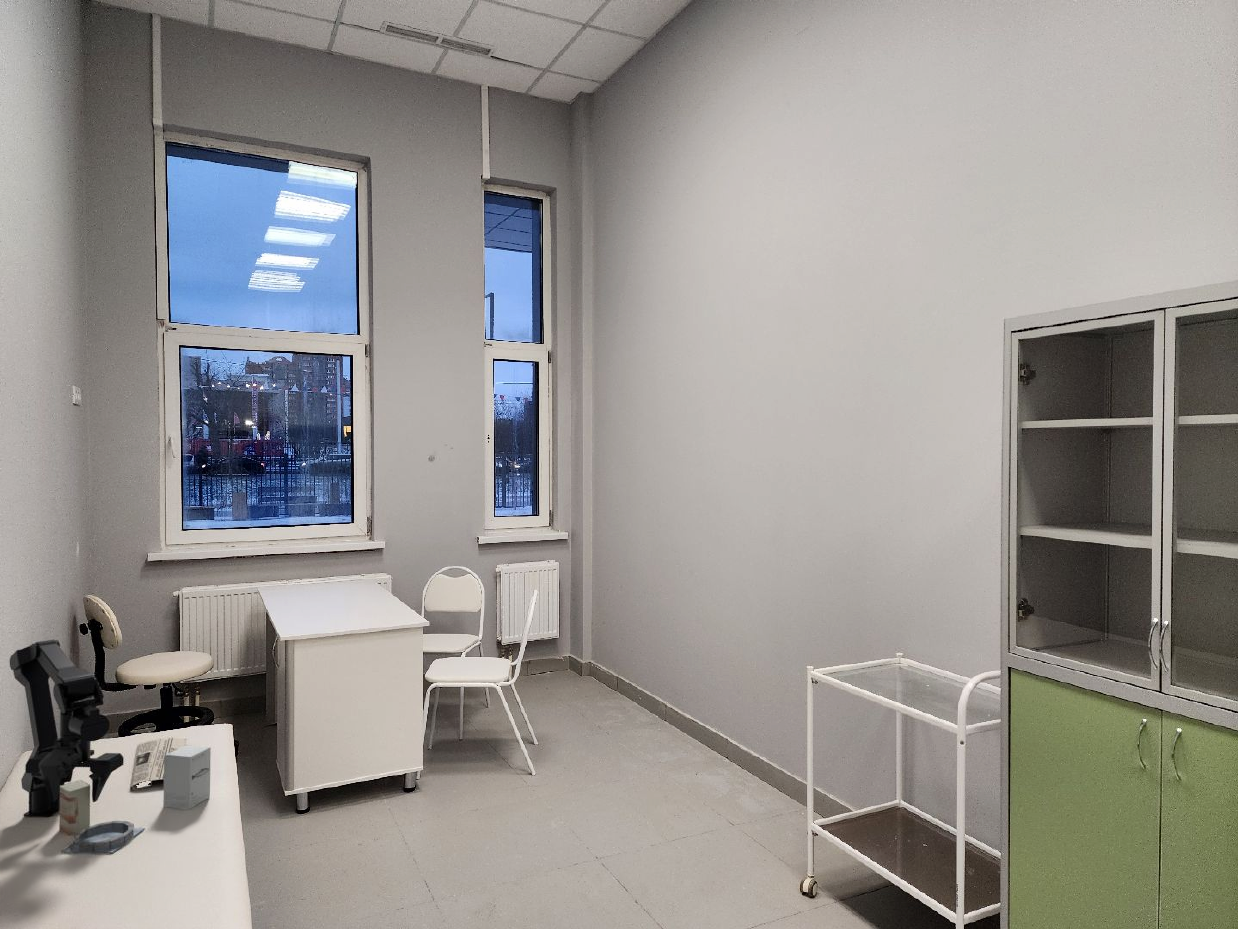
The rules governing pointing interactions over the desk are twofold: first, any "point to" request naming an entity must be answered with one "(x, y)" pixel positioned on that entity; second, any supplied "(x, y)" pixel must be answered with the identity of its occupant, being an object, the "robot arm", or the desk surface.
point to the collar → (103, 838)
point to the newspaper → (153, 759)
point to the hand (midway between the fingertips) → (74, 801)
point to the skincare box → (74, 807)
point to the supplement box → (186, 777)
